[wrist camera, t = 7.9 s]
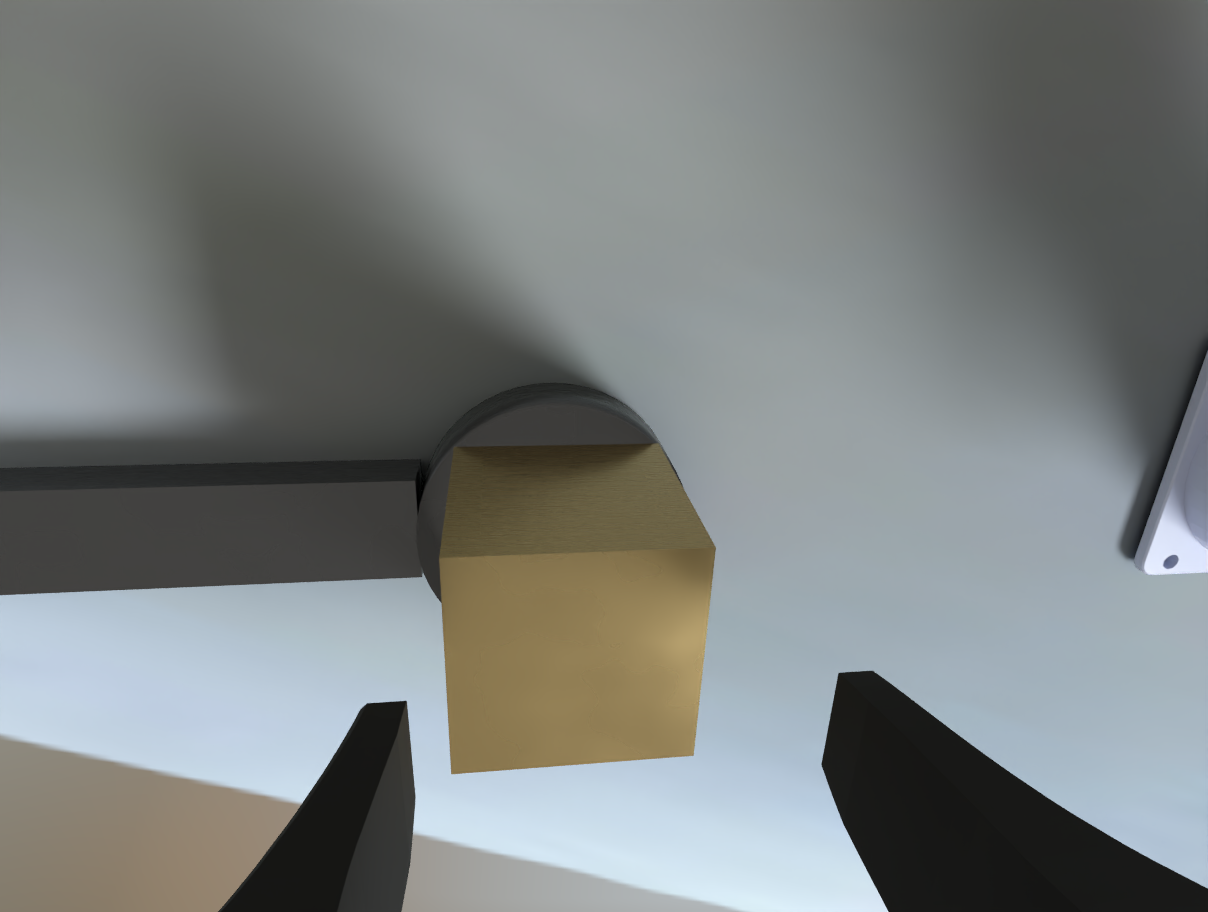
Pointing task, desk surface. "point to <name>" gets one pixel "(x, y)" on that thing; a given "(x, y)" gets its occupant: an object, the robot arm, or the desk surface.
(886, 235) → the desk surface
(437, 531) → the ratchet
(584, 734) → the brushed gold cube
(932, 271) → the desk surface
